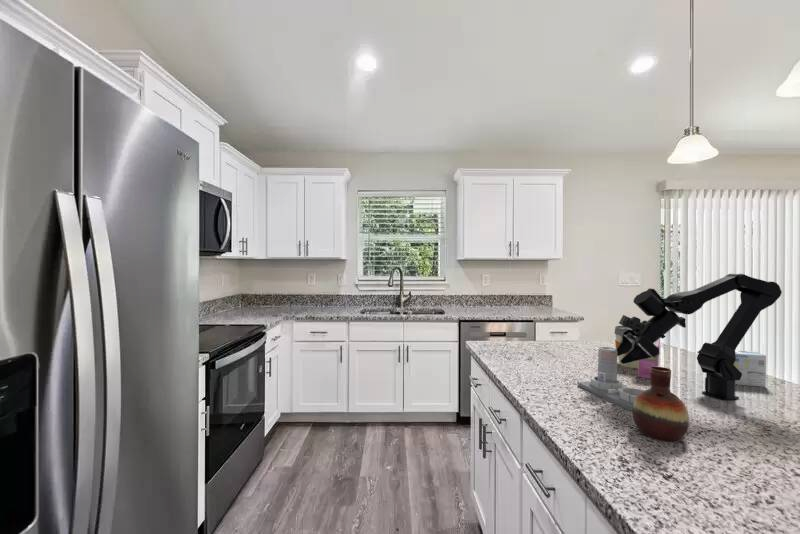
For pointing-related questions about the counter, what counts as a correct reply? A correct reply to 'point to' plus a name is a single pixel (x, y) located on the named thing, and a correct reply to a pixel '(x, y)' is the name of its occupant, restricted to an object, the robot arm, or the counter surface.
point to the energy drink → (607, 365)
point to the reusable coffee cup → (630, 364)
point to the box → (648, 365)
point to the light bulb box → (751, 368)
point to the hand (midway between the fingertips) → (617, 359)
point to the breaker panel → (612, 391)
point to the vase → (660, 409)
